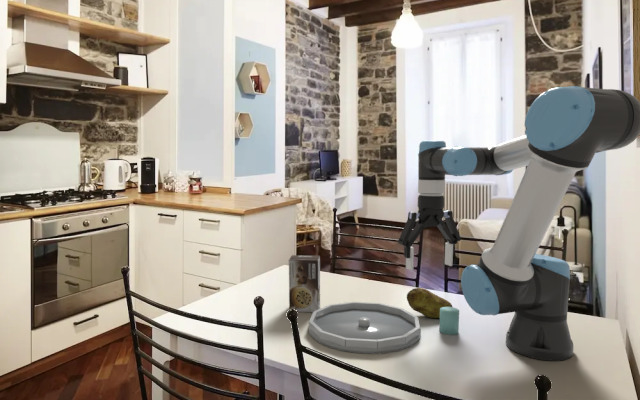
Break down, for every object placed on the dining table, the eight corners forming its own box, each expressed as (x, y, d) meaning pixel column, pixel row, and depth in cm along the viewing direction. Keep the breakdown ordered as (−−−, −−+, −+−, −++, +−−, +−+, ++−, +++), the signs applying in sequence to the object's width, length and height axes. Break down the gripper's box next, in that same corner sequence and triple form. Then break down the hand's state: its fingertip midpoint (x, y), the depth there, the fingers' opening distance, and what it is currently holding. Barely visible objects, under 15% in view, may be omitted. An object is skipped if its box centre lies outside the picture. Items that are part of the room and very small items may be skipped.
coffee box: (320, 306, 147) (321, 255, 145) (318, 313, 141) (318, 260, 139) (291, 304, 148) (291, 254, 146) (288, 311, 141) (288, 259, 140)
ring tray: (444, 342, 119) (444, 331, 119) (336, 361, 108) (336, 349, 108) (384, 306, 147) (384, 297, 146) (293, 318, 135) (293, 308, 135)
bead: (462, 333, 125) (463, 311, 125) (446, 336, 124) (447, 313, 123) (450, 326, 130) (451, 305, 129) (435, 329, 128) (436, 308, 128)
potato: (447, 324, 132) (448, 296, 131) (403, 316, 138) (404, 289, 137) (454, 315, 139) (455, 289, 138) (412, 308, 145) (412, 283, 145)
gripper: (457, 192, 144) (455, 260, 146) (386, 194, 134) (385, 267, 136) (474, 194, 137) (472, 266, 139) (400, 196, 127) (399, 273, 129)
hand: (429, 267), depth 137 cm, fingers open, 13 cm apart
